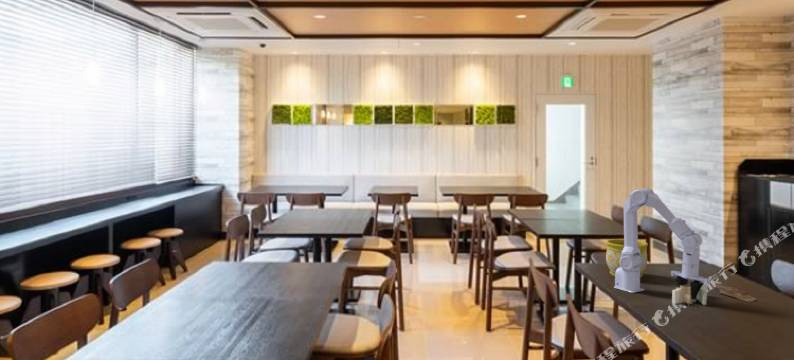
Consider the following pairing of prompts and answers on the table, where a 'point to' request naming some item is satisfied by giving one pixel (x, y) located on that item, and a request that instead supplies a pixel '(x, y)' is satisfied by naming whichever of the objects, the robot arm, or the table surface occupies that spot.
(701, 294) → the door
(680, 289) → the wall frame
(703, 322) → the table surface
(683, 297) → the block
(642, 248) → the flowerpot
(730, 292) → the wooden fragment
